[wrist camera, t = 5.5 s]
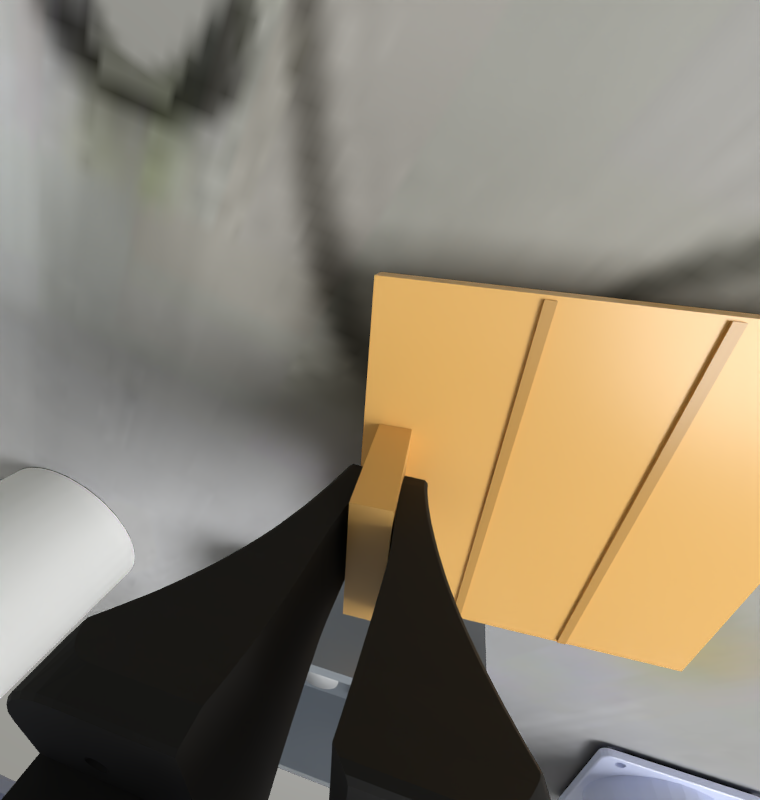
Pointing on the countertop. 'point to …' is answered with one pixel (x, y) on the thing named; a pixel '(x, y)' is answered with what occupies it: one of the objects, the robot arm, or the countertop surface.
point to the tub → (334, 692)
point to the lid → (565, 460)
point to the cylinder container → (52, 563)
